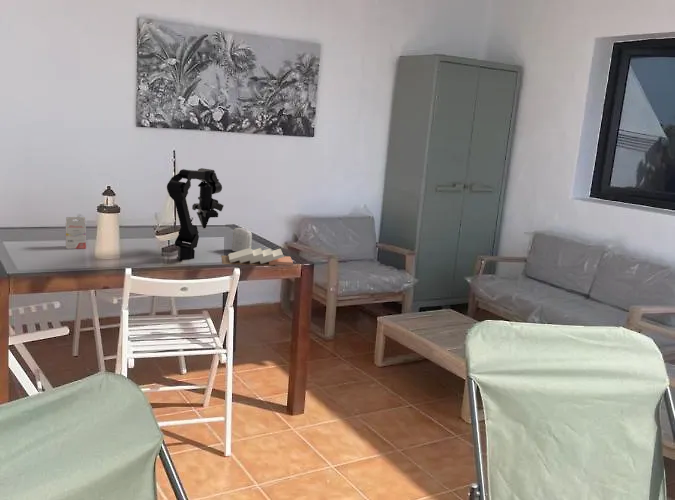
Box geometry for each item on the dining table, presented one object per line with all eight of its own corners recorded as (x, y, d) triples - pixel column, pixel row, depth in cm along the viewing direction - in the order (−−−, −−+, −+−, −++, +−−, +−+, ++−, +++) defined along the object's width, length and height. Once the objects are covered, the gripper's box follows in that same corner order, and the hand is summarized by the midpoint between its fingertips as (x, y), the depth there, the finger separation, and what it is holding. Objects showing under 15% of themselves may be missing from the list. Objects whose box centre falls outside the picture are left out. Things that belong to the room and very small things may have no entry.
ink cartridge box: (85, 246, 319) (85, 215, 315) (85, 248, 314) (86, 217, 311) (65, 246, 316) (65, 214, 312) (65, 248, 311) (65, 217, 307)
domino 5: (269, 261, 316) (293, 262, 318) (267, 255, 325) (290, 256, 328) (269, 264, 316) (292, 265, 319) (267, 258, 326) (290, 259, 328)
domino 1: (229, 259, 312) (252, 253, 313) (228, 253, 322) (251, 247, 323) (230, 262, 313) (253, 256, 314) (229, 256, 322) (252, 250, 323)
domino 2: (239, 260, 313) (262, 253, 314) (238, 254, 323) (260, 247, 324) (240, 263, 314) (263, 256, 315) (239, 257, 323) (261, 250, 324)
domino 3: (249, 260, 314) (272, 253, 315) (248, 254, 323) (270, 248, 325) (250, 263, 314) (273, 256, 316) (248, 257, 324) (271, 251, 325)
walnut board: (222, 265, 310) (222, 263, 310) (221, 257, 323) (221, 255, 323) (275, 267, 315) (275, 265, 315) (272, 259, 328) (272, 257, 328)
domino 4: (259, 260, 315) (282, 254, 316) (258, 255, 324) (280, 248, 326) (260, 263, 315) (283, 257, 317) (258, 258, 325) (281, 251, 326)
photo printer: (252, 254, 333) (253, 230, 330) (246, 256, 329) (247, 231, 326) (236, 250, 338) (237, 225, 335) (230, 251, 335) (231, 226, 332)
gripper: (229, 199, 317) (227, 232, 321) (214, 191, 333) (213, 223, 336) (206, 199, 311) (205, 233, 315) (192, 191, 327) (191, 223, 331)
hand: (204, 228), depth 325 cm, fingers closed
